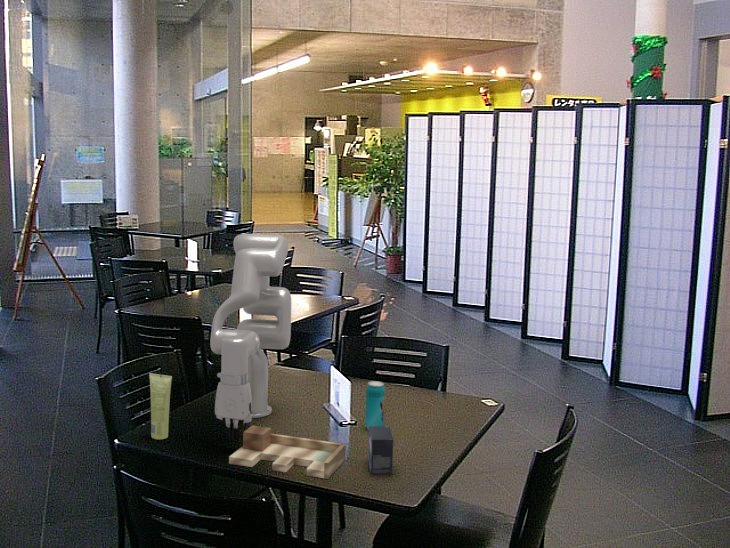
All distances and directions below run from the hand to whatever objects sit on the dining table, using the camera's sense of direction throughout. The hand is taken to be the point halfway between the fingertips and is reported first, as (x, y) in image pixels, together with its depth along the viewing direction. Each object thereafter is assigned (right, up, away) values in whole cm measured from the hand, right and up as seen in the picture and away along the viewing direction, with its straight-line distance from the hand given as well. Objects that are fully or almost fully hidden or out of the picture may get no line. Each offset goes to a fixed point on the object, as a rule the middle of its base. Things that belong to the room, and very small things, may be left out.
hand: (233, 439), depth 237 cm
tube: (-23, -1, +8) cm, 25 cm away
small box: (+42, -6, -8) cm, 44 cm away
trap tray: (+16, -5, -7) cm, 18 cm away
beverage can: (+41, -1, +23) cm, 47 cm away
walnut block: (+7, -2, -2) cm, 7 cm away
